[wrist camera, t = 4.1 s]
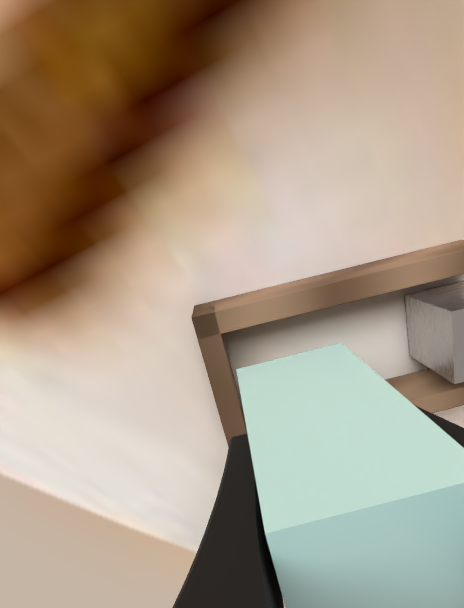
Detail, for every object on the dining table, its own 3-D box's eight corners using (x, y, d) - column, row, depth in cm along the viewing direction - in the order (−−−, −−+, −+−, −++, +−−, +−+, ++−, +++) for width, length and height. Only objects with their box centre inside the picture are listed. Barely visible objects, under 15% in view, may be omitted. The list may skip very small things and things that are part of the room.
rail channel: (460, 240, 14) (499, 241, 12) (464, 376, 16) (499, 396, 14) (194, 305, 14) (191, 317, 12) (230, 434, 16) (233, 462, 14)
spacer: (341, 342, 11) (494, 475, 5) (355, 432, 12) (495, 629, 6) (236, 369, 11) (265, 533, 5) (259, 456, 12) (305, 679, 6)
